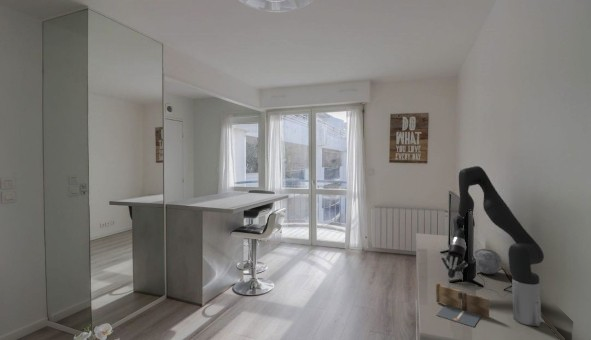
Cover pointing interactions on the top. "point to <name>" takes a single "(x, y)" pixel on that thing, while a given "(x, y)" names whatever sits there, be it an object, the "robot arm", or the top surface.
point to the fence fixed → (475, 304)
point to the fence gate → (448, 296)
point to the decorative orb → (487, 261)
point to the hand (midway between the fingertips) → (450, 277)
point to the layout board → (459, 315)
